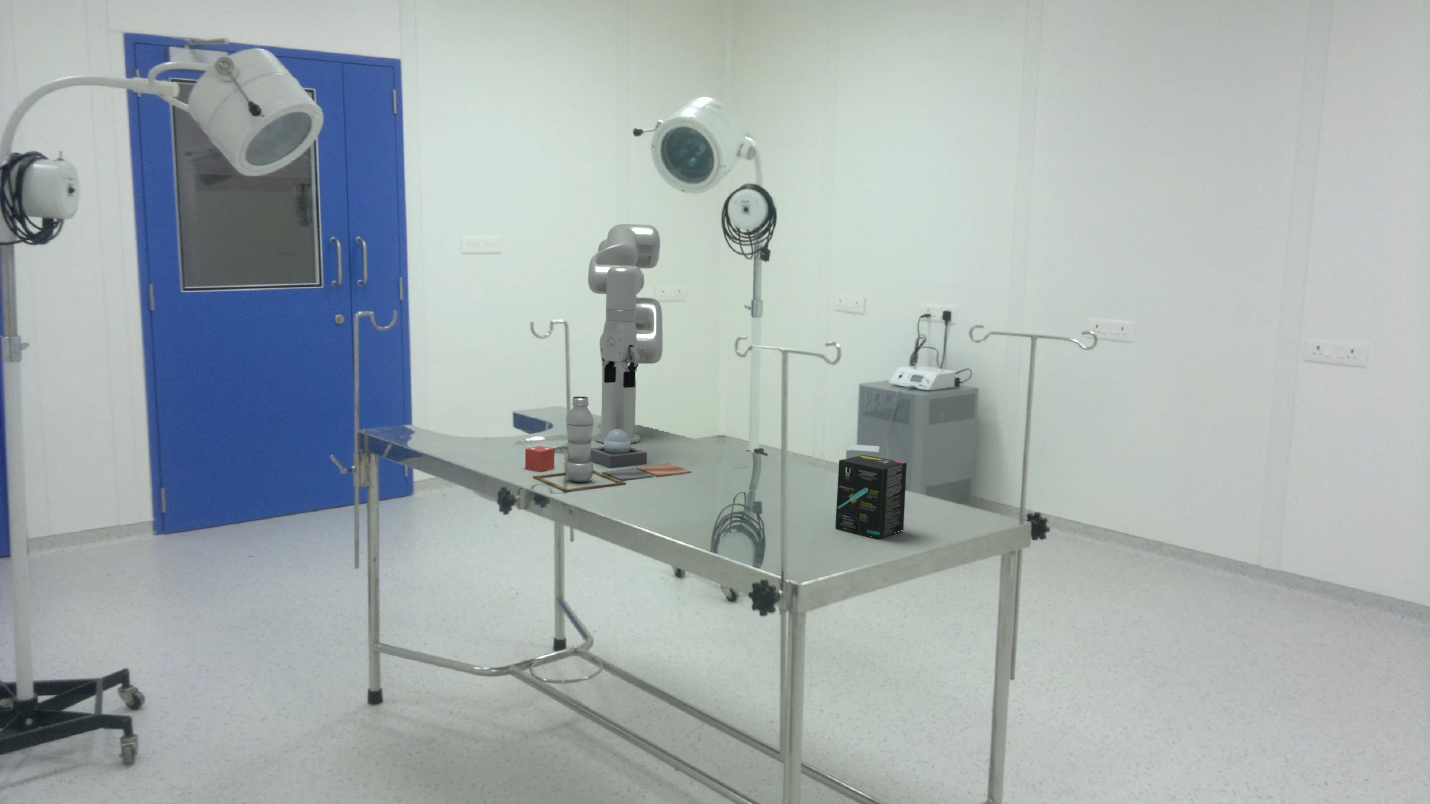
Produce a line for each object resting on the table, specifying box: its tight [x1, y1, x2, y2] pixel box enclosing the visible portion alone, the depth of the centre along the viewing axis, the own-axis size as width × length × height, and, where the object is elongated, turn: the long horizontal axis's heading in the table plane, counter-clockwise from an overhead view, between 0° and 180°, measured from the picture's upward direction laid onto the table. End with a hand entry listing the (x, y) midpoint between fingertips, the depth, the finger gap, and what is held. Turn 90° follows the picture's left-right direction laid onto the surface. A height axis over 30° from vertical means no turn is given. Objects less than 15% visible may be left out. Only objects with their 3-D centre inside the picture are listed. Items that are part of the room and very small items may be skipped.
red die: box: [524, 445, 555, 473], centre depth 262 cm, size 5×5×5 cm
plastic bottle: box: [564, 395, 595, 483], centre depth 249 cm, size 6×7×20 cm
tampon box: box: [834, 455, 907, 539], centre depth 217 cm, size 11×9×15 cm
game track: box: [532, 462, 692, 493], centre depth 257 cm, size 16×37×1 cm, turn 127°
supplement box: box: [845, 443, 881, 459], centre depth 240 cm, size 7×7×13 cm
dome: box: [603, 429, 632, 455], centre depth 272 cm, size 7×7×6 cm
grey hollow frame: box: [591, 446, 648, 469], centre depth 273 cm, size 11×11×3 cm
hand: (619, 384), depth 270 cm, fingers open, 8 cm apart
